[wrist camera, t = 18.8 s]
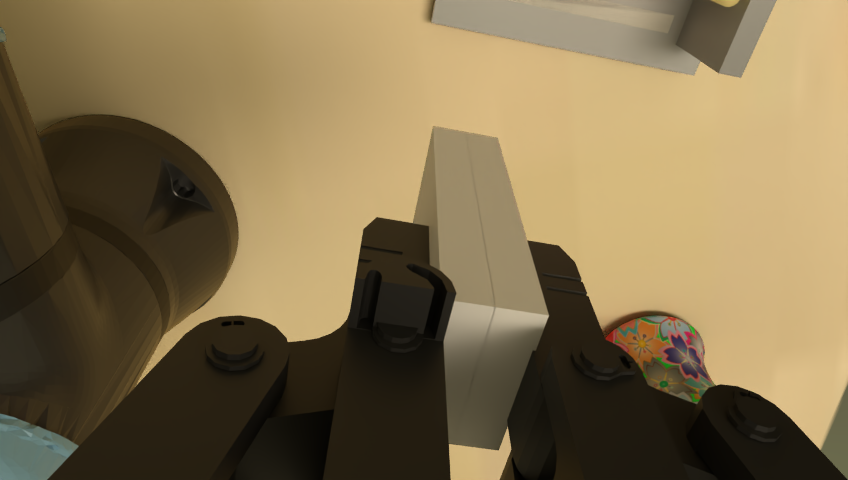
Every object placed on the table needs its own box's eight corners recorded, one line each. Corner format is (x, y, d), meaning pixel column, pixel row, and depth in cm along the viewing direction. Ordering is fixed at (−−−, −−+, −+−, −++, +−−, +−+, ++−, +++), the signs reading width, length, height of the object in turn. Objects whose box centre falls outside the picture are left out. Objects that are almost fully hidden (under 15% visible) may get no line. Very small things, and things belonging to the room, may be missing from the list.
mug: (593, 305, 47) (634, 410, 38) (715, 302, 47) (787, 407, 37) (577, 417, 53) (609, 531, 44) (685, 415, 53) (740, 529, 44)
